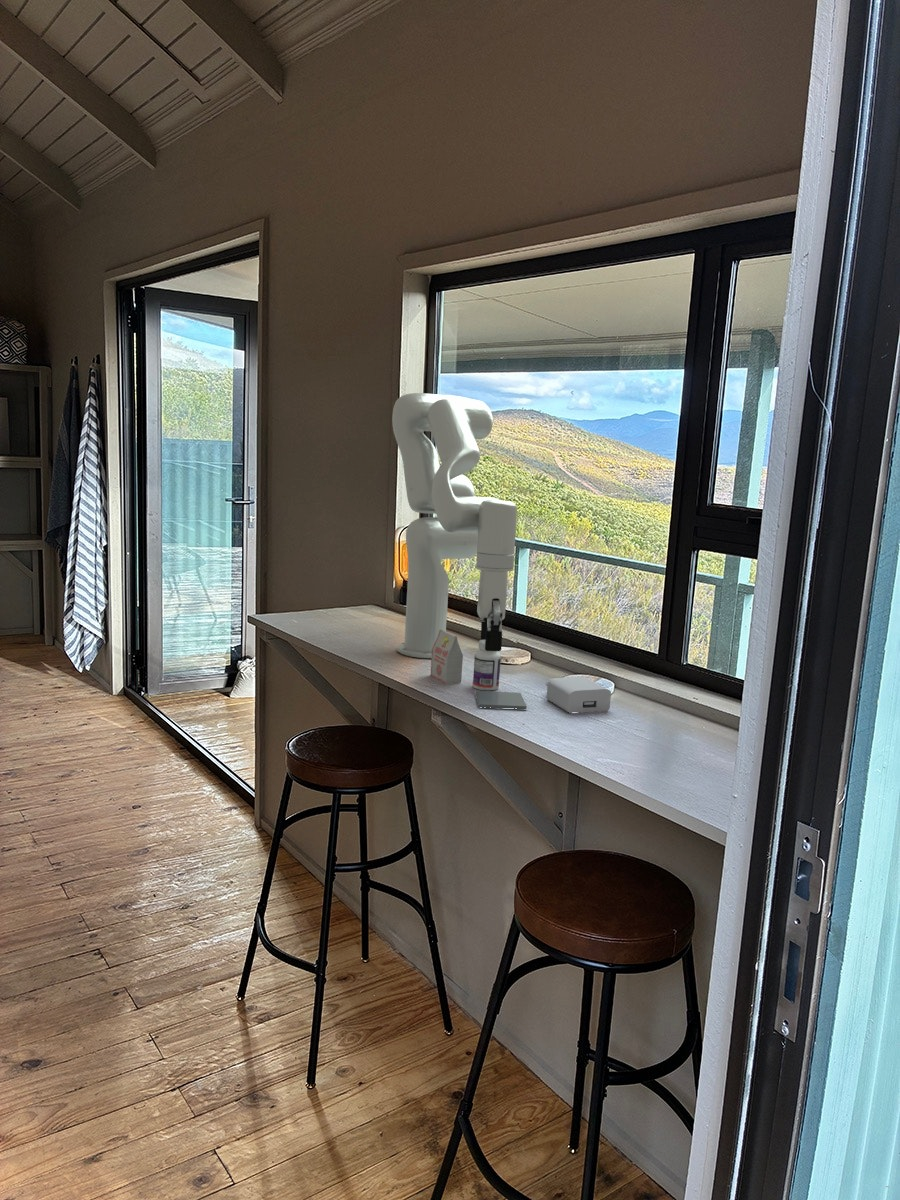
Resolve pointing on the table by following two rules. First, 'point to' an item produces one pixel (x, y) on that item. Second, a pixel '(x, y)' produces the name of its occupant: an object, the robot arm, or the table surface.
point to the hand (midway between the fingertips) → (490, 645)
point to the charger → (578, 694)
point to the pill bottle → (486, 668)
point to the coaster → (500, 699)
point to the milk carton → (446, 659)
